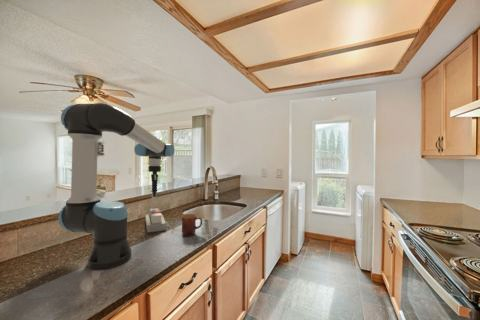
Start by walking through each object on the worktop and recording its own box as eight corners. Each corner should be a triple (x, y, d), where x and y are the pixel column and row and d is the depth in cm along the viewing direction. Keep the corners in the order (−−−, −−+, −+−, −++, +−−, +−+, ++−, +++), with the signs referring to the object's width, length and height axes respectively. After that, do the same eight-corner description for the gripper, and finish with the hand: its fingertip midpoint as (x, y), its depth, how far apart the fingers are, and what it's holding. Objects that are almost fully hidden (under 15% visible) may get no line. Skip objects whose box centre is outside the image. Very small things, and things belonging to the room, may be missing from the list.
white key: (151, 223, 116) (152, 216, 116) (151, 221, 120) (151, 213, 120) (161, 222, 118) (161, 215, 118) (160, 220, 123) (160, 213, 123)
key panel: (147, 232, 114) (147, 225, 114) (145, 220, 134) (145, 214, 134) (166, 229, 118) (166, 223, 118) (161, 219, 139) (161, 213, 139)
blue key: (150, 217, 129) (150, 210, 129) (149, 215, 134) (149, 208, 134) (158, 216, 132) (158, 209, 132) (157, 214, 136) (157, 208, 136)
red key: (151, 219, 123) (151, 212, 123) (150, 217, 127) (150, 210, 127) (159, 218, 125) (159, 211, 125) (159, 216, 129) (159, 209, 129)
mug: (177, 236, 108) (178, 217, 108) (184, 231, 117) (184, 213, 117) (199, 238, 107) (199, 218, 107) (204, 232, 116) (204, 214, 116)
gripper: (162, 166, 128) (161, 203, 128) (159, 165, 140) (159, 199, 140) (149, 165, 125) (148, 204, 125) (148, 165, 136) (147, 200, 136)
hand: (154, 201), depth 132 cm, fingers closed
